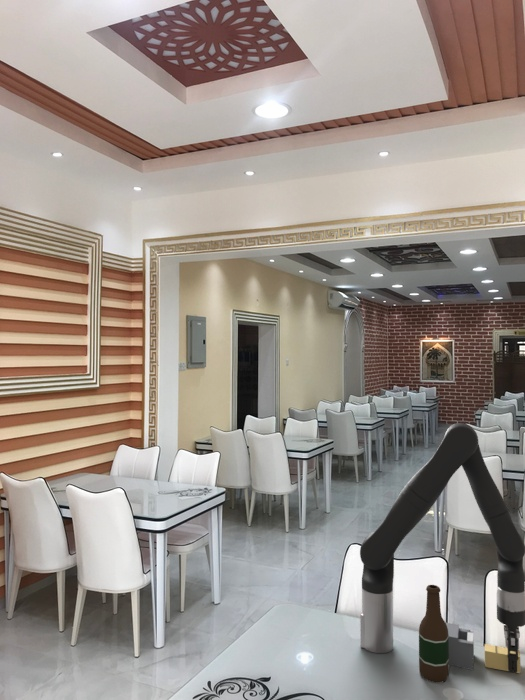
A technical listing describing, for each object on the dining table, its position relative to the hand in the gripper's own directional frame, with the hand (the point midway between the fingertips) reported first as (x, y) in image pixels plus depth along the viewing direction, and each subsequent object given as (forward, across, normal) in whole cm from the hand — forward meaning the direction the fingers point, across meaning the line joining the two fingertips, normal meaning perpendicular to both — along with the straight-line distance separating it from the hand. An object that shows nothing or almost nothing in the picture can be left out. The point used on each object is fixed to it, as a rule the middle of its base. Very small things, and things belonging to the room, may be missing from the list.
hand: (511, 664), depth 152 cm
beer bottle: (+1, +11, -20) cm, 23 cm away
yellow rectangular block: (+1, 0, -2) cm, 3 cm away
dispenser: (+1, 0, -16) cm, 16 cm away
